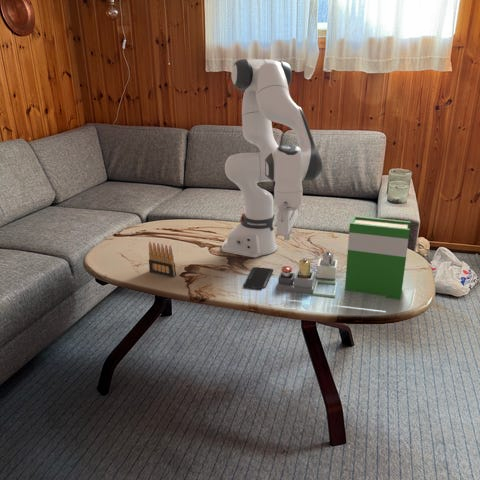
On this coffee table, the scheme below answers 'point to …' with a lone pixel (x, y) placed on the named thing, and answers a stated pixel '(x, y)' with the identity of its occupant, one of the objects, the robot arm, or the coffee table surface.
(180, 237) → the coffee table surface
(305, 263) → the cell
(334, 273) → the white square bin
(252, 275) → the phone
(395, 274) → the hardback book
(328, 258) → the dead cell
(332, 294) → the pale green rectangular frame
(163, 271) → the ammunition clip
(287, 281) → the grey socket holder
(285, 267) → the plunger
